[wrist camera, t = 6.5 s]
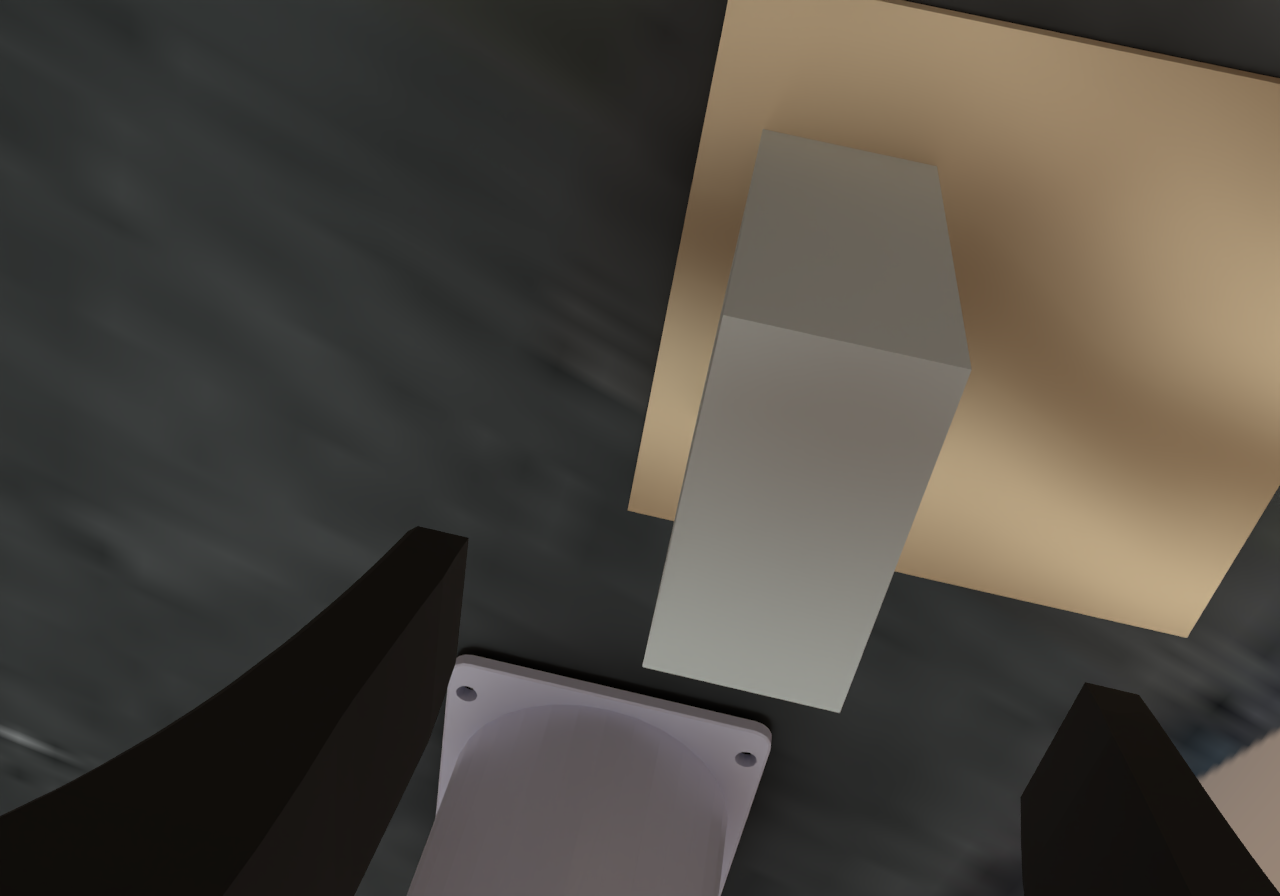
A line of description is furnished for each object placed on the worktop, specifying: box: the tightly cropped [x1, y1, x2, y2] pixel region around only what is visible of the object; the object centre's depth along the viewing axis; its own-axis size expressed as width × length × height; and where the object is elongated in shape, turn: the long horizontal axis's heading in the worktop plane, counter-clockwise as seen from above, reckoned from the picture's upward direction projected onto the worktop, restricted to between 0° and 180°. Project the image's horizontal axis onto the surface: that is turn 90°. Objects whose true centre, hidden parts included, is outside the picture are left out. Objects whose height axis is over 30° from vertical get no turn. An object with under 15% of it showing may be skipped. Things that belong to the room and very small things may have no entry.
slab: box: [642, 129, 972, 713], centre depth 18 cm, size 6×3×7 cm, turn 171°
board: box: [628, 0, 1280, 638], centre depth 21 cm, size 11×12×1 cm
